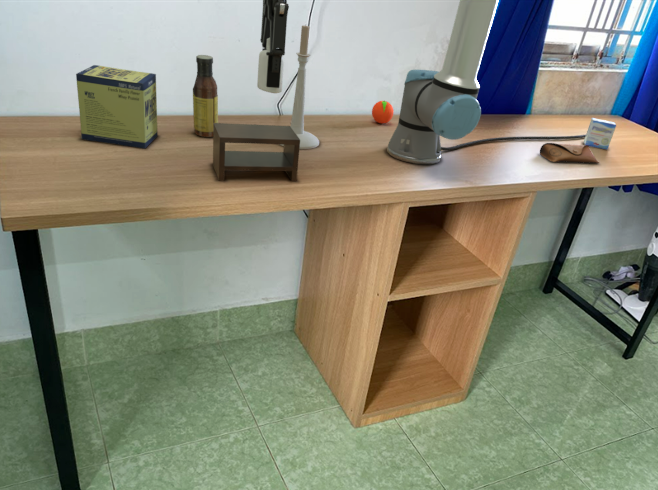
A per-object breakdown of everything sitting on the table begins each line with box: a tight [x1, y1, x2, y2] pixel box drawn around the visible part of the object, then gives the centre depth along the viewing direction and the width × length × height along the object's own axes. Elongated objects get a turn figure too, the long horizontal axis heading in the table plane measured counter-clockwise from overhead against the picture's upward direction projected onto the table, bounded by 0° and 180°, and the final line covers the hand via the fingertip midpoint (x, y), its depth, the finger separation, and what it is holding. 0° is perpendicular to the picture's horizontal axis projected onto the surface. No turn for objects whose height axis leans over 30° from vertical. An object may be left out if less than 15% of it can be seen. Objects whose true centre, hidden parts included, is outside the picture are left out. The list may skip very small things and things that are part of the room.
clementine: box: [371, 100, 395, 125], centre depth 195 cm, size 8×7×7 cm
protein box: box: [75, 64, 159, 149], centre depth 148 cm, size 10×16×16 cm
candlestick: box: [278, 25, 320, 150], centre depth 162 cm, size 13×13×30 cm
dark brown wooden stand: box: [212, 122, 300, 182], centre depth 143 cm, size 18×10×10 cm, turn 109°
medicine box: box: [583, 117, 617, 151], centre depth 209 cm, size 8×4×9 cm, turn 76°
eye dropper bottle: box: [256, 38, 285, 94], centre depth 133 cm, size 4×6×12 cm
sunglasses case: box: [539, 142, 600, 165], centre depth 192 cm, size 18×7×7 cm
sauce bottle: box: [192, 54, 219, 138], centre depth 158 cm, size 7×6×20 cm
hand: (269, 83), depth 135 cm, fingers closed on eye dropper bottle, 5 cm apart
